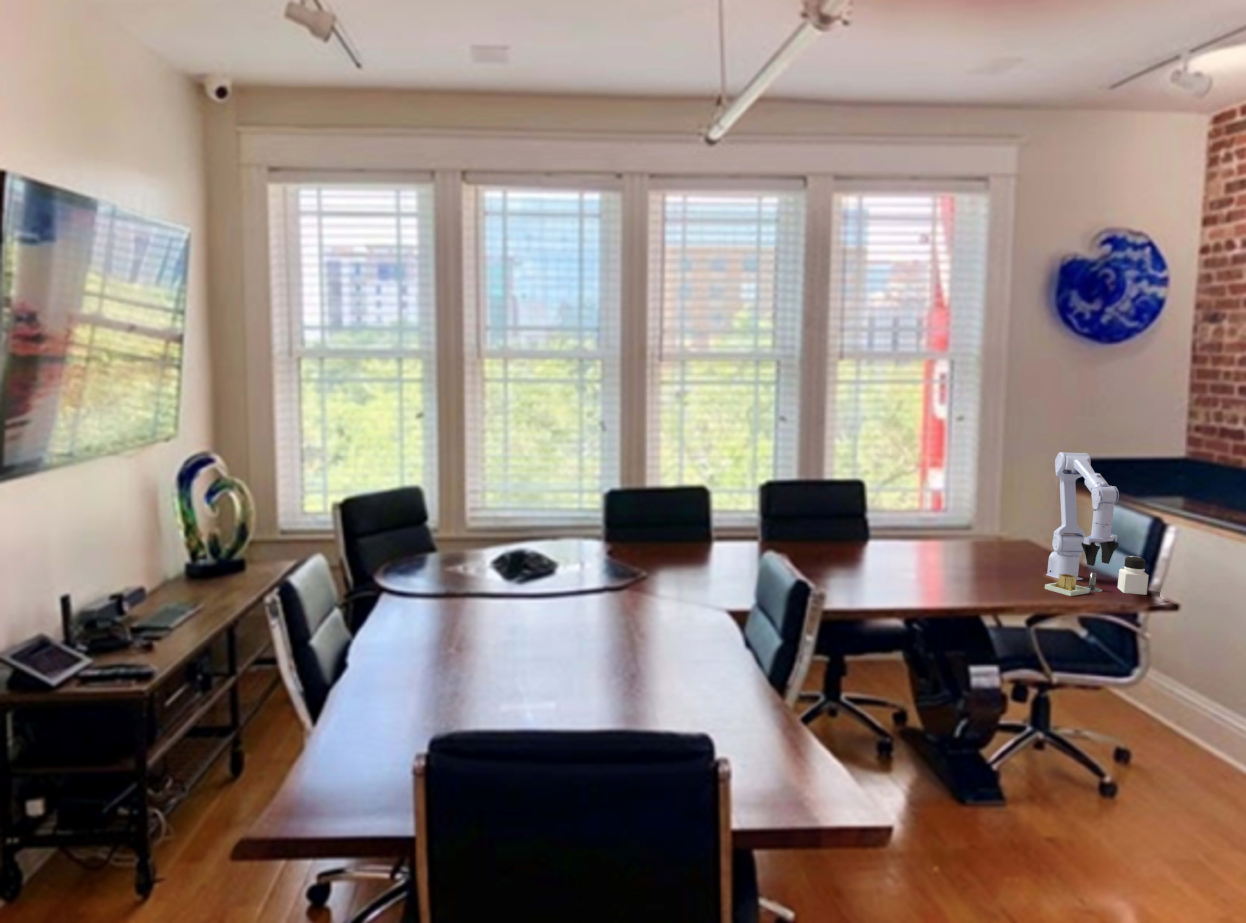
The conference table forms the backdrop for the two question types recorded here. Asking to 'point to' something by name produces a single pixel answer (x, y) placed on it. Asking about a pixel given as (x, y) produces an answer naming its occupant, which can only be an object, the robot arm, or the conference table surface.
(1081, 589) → the tray
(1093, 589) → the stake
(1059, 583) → the collar
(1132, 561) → the medicine bottle
